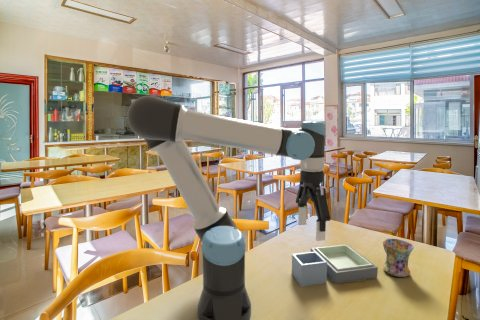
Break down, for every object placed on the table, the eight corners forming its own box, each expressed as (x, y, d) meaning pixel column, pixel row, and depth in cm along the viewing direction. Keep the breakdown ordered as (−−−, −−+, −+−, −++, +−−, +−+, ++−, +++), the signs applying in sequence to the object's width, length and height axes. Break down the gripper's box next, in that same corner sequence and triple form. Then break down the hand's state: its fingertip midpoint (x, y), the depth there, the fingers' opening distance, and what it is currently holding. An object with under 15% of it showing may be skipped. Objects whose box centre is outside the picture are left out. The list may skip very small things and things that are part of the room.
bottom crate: (335, 284, 96) (336, 272, 96) (310, 257, 114) (310, 248, 114) (377, 278, 100) (377, 267, 99) (346, 253, 117) (346, 244, 117)
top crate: (337, 279, 98) (337, 269, 97) (314, 256, 113) (315, 247, 113) (371, 274, 100) (372, 264, 100) (345, 253, 116) (345, 244, 115)
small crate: (301, 286, 95) (301, 265, 94) (291, 273, 103) (292, 253, 102) (326, 283, 97) (327, 262, 96) (315, 270, 105) (315, 251, 104)
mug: (417, 277, 100) (420, 248, 98) (393, 280, 98) (396, 251, 96) (393, 261, 111) (395, 234, 110) (371, 263, 110) (373, 236, 108)
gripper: (344, 176, 83) (341, 246, 86) (306, 163, 107) (305, 218, 110) (320, 178, 81) (318, 249, 85) (287, 164, 105) (286, 220, 109)
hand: (310, 232), depth 97 cm, fingers open, 13 cm apart
